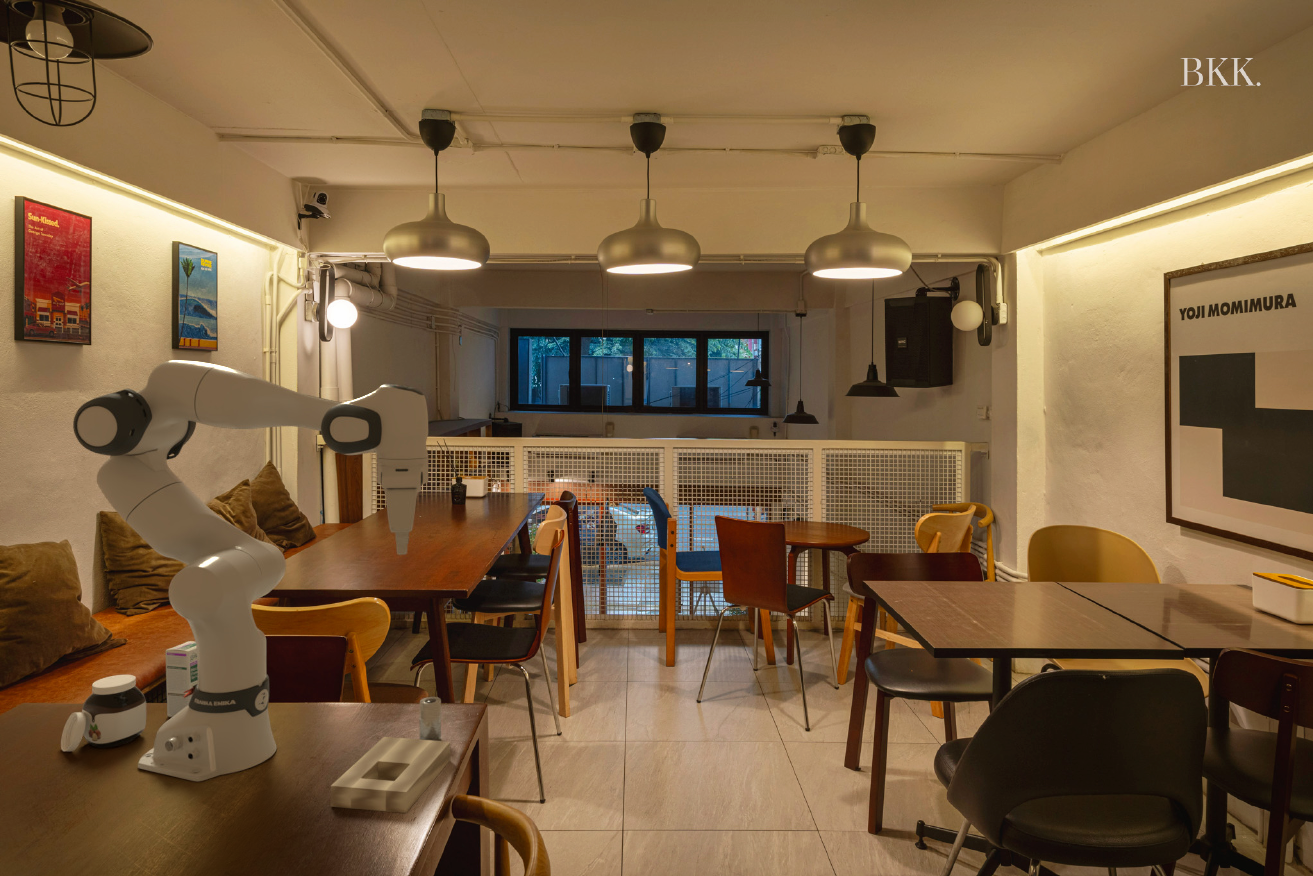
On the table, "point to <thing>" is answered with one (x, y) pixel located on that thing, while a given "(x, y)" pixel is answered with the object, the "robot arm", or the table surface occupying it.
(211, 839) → the table surface
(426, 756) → the frame
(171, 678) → the syrup box
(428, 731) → the bushing
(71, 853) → the table surface
